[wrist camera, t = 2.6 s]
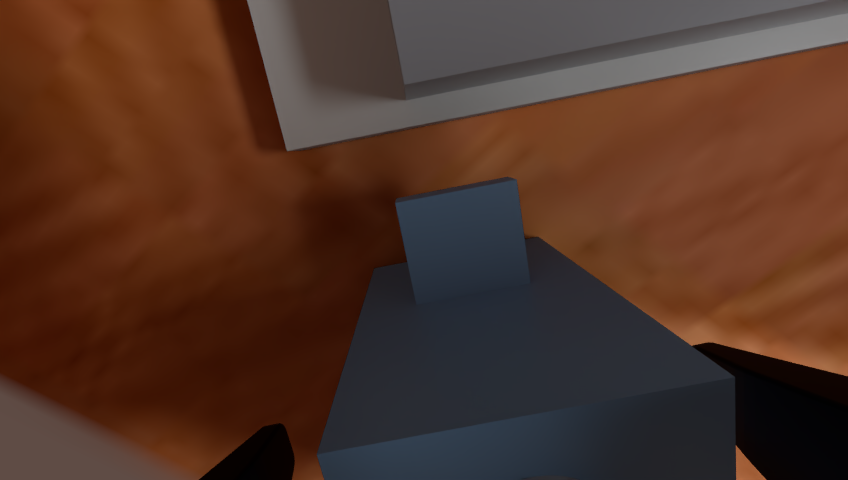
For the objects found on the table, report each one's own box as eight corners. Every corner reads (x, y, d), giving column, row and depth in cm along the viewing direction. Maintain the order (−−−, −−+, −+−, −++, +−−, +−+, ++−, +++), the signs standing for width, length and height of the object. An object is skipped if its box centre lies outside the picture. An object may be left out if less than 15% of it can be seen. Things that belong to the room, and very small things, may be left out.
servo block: (570, 499, 11) (793, 989, 5) (433, 523, 11) (462, 1044, 5) (528, 161, 9) (831, 200, 3) (357, 194, 9) (219, 316, 3)
